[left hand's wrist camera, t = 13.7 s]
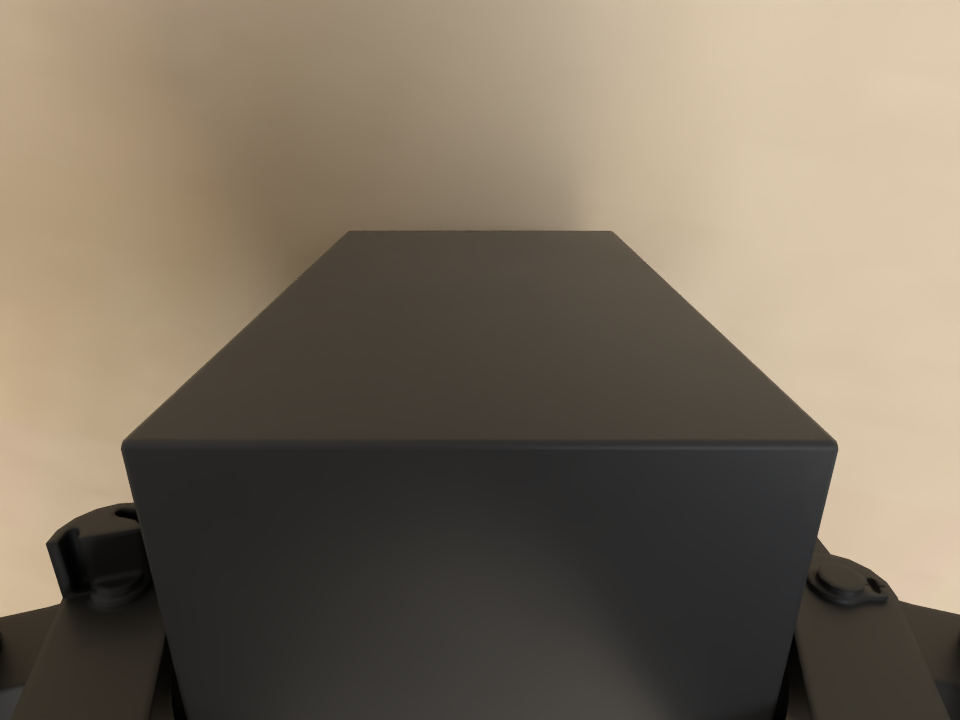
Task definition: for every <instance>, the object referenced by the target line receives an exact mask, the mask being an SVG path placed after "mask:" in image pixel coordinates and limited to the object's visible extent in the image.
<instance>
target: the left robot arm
mask: <svg viewBox="0 0 960 720" xmlns="http://www.w3.org/2000/svg"><path fill="white" fill-rule="evenodd" d="M46 546H47V549H48V552H49V555H50V558H51V562H52V565H53V568H54V571H55V574H56V577H57V581H58V584H59V587H60V590H61V593H62V596H63V599H62V601H61V603H60V604H57V605H54V606H50V607H46V608H42V609H37V610H33V611H28V612H24V613H19V614H14V615H10V616H5V617H1V618H0V720H187V718H186V714H185V710H184V706H183V701H182V697H181V693H180V689H179V685H178V681H177V677H176V673H175V669H174V664H173V660H172V656H171V652H170V648H169V644H168V640H167V636H166V632H165V627H164V623H163V619H162V615H161V611H160V607H159V603H158V599H157V595H156V591H155V586H154V582H153V578H152V574H151V570H150V566H149V562H148V558H147V554H146V549H145V545H144V541H143V537H142V533H141V529H140V525H139V521H138V517H137V512H136V508H135V504H134V503H121V504H115V505H111V506H107V507H103V508H99V509H96V510H93V511H91V512H89V513H86V514H84V515H82V516H79V517H77V518H75V519H73V520H72V521H70V522H69V523H67V524H66V525H64V526H63V527H61V528H60V529H58V530H57V531H56V532H55V533H54V535H53V536H52V537H51V538H50V539H49V541H48V542H47V543H46ZM773 720H960V615H959V614H954V613H949V612H945V611H940V610H936V609H931V608H926V607H922V606H917V605H913V604H909V603H906V602H902V601H899V600H898V598H897V596H896V595H895V593H894V592H893V590H892V589H891V588H890V586H889V585H888V583H887V582H885V581H884V580H883V579H882V578H880V577H879V576H878V575H876V574H875V573H874V572H873V571H871V570H870V569H868V568H866V567H864V566H862V565H860V564H858V563H856V562H853V561H851V560H849V559H846V558H842V557H838V556H835V555H831V554H830V553H829V552H828V550H827V549H826V548H825V547H824V545H823V544H822V543H821V542H820V540H819V539H818V538H817V539H816V543H815V547H814V552H813V556H812V560H811V564H810V568H809V572H808V576H807V580H806V585H805V589H804V593H803V597H802V601H801V605H800V609H799V613H798V617H797V622H796V626H795V630H794V634H793V638H792V642H791V646H790V650H789V655H788V659H787V663H786V667H785V671H784V675H783V679H782V683H781V688H780V692H779V696H778V700H777V704H776V708H775V712H774V716H773Z"/></svg>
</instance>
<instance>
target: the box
mask: <svg viewBox="0 0 960 720" xmlns="http://www.w3.org/2000/svg"><path fill="white" fill-rule="evenodd" d="M121 451H122V455H123V459H124V463H125V467H126V471H127V476H128V480H129V484H130V488H131V492H132V496H133V500H134V504H135V508H136V512H137V517H138V521H139V525H140V529H141V533H142V537H143V541H144V545H145V549H146V554H147V558H148V562H149V566H150V570H151V574H152V578H153V582H154V586H155V591H156V595H157V599H158V603H159V607H160V611H161V615H162V619H163V623H164V627H165V632H166V636H167V640H168V644H169V648H170V652H171V656H172V660H173V664H174V669H175V673H176V677H177V681H178V685H179V689H180V693H181V697H182V701H183V706H184V710H185V714H186V718H187V720H773V716H774V712H775V708H776V704H777V700H778V696H779V692H780V688H781V683H782V679H783V675H784V671H785V667H786V663H787V659H788V655H789V650H790V646H791V642H792V638H793V634H794V630H795V626H796V622H797V617H798V613H799V609H800V605H801V601H802V597H803V593H804V589H805V585H806V580H807V576H808V572H809V568H810V564H811V560H812V556H813V552H814V547H815V543H816V539H817V535H818V531H819V527H820V523H821V519H822V514H823V510H824V506H825V502H826V498H827V494H828V490H829V486H830V481H831V477H832V473H833V469H834V465H835V461H836V457H837V453H838V445H837V442H836V440H834V439H833V438H832V437H831V436H830V435H829V434H828V433H827V432H826V431H825V430H824V429H823V428H822V427H821V426H820V425H818V424H817V423H816V422H815V421H814V420H813V419H812V418H811V417H810V416H809V415H808V414H807V413H806V412H805V411H804V410H802V409H801V408H800V407H799V406H798V405H797V404H796V403H795V402H794V401H793V400H792V399H791V398H790V397H789V396H788V395H786V394H785V393H784V392H783V391H782V390H781V389H780V388H779V387H778V386H777V385H776V384H775V383H774V382H773V381H772V380H770V379H769V378H768V377H767V376H766V375H765V374H764V373H763V372H762V371H761V370H760V369H759V368H758V367H757V366H756V365H754V364H753V363H752V362H751V361H750V360H749V359H748V358H747V357H746V356H745V355H744V354H743V353H742V352H741V351H740V350H738V349H737V348H736V347H735V346H734V345H733V344H732V343H731V342H730V341H729V340H728V339H727V338H726V337H725V336H724V335H722V334H721V333H720V332H719V331H718V330H717V329H716V328H715V327H714V326H713V325H712V324H711V323H710V322H709V321H708V320H706V319H705V318H704V317H703V316H702V315H701V314H700V313H699V312H698V311H697V310H696V309H695V308H694V307H693V306H692V305H690V304H689V303H688V302H687V301H686V300H685V299H684V298H683V297H682V296H681V295H680V294H679V293H678V292H677V291H675V290H674V289H673V288H672V287H671V286H670V285H669V284H668V283H667V282H666V281H665V280H664V279H663V278H662V277H661V276H659V275H658V274H657V273H656V272H655V271H654V270H653V269H652V268H651V267H650V266H649V265H648V264H647V263H646V262H645V261H643V260H642V259H641V258H640V257H639V256H638V255H637V254H636V253H635V252H634V251H633V250H632V249H631V248H630V247H629V246H627V245H626V244H625V243H624V242H623V241H622V240H621V239H620V238H619V237H618V236H617V235H616V234H615V233H614V232H612V231H349V232H347V233H346V234H345V235H344V236H343V237H342V238H341V239H340V240H339V241H338V242H337V243H336V244H334V245H333V246H332V247H331V248H330V249H329V250H328V251H327V252H326V253H325V254H324V255H323V256H321V257H320V258H319V259H318V260H317V261H316V262H315V263H314V264H313V265H312V266H311V267H310V268H309V269H307V270H306V271H305V272H304V273H303V274H302V275H301V276H300V277H299V278H298V279H297V280H296V281H295V282H293V283H292V284H291V285H290V286H289V287H288V288H287V289H286V290H285V291H284V292H283V293H282V294H281V295H279V296H278V297H277V298H276V299H275V300H274V301H273V302H272V303H271V304H270V305H269V306H268V307H267V308H265V309H264V310H263V311H262V312H261V313H260V314H259V315H258V316H257V317H256V318H255V319H254V320H253V321H251V322H250V323H249V324H248V325H247V326H246V327H245V328H244V329H243V330H242V331H241V332H240V333H239V334H237V335H236V336H235V337H234V338H233V339H232V340H231V341H230V342H229V343H228V344H227V345H226V346H225V347H223V348H222V349H221V350H220V351H219V352H218V353H217V354H216V355H215V356H214V357H213V358H212V359H211V360H209V361H208V362H207V363H206V364H205V365H204V366H203V367H202V368H201V369H200V370H199V371H198V372H197V373H195V374H194V375H193V376H192V377H191V378H190V379H189V380H188V381H187V382H186V383H185V384H184V385H183V386H181V387H180V388H179V389H178V390H177V391H176V392H175V393H174V394H173V395H172V396H171V397H170V398H169V399H167V400H166V401H165V402H164V403H163V404H162V405H161V406H160V407H159V408H158V409H157V410H156V411H155V412H153V413H152V414H151V415H150V416H149V417H148V418H147V419H146V420H145V421H144V422H143V423H142V424H141V425H139V426H138V427H137V428H136V429H135V430H134V431H133V432H132V433H131V434H130V435H129V436H128V437H127V438H125V439H124V440H123V442H122V446H121Z"/></svg>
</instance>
